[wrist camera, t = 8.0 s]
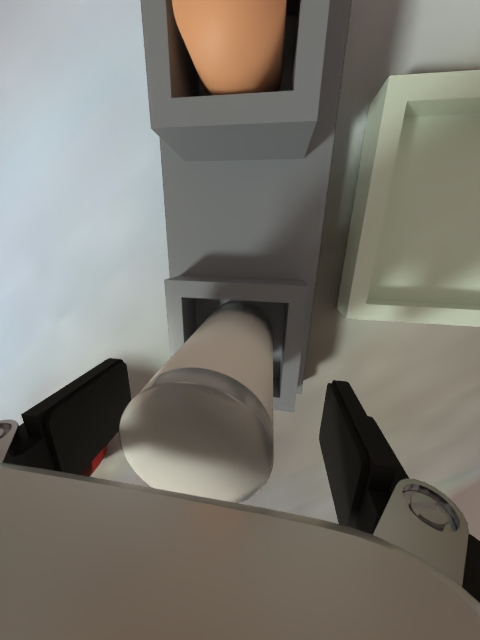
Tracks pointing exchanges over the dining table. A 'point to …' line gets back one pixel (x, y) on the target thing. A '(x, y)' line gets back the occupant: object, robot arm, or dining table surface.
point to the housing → (247, 180)
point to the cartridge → (208, 411)
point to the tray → (417, 205)
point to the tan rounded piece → (234, 43)
